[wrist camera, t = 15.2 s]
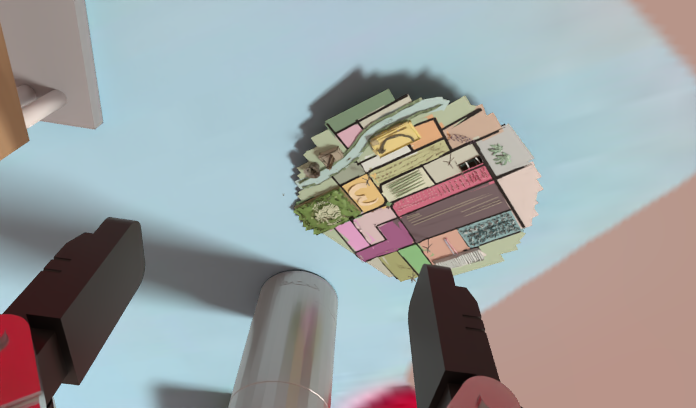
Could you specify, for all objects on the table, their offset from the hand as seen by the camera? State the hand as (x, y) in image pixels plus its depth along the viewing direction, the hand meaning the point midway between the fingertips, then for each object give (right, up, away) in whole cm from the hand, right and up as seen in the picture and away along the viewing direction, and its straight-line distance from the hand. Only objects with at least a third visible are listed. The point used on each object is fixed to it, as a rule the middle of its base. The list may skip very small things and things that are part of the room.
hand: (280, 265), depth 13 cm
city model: (+8, +3, +32) cm, 33 cm away
